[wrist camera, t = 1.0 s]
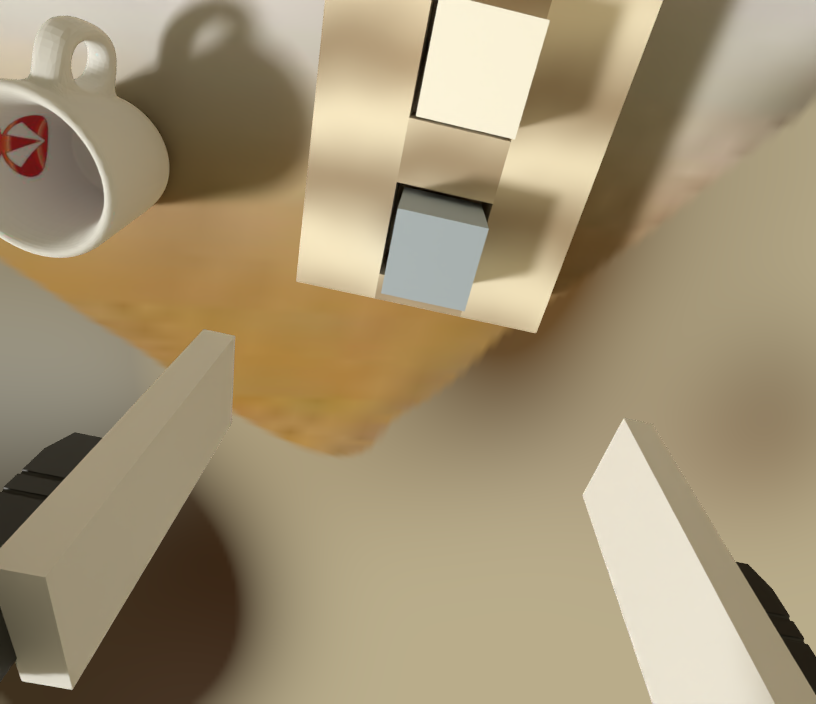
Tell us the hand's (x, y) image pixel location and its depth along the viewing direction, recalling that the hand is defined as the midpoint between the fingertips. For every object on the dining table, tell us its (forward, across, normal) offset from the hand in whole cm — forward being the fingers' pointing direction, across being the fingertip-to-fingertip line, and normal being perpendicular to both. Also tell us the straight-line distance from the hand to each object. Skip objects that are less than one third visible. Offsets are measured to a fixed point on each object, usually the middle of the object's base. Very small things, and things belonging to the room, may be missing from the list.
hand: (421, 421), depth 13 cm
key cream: (+17, 0, +8) cm, 19 cm away
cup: (+21, -19, +1) cm, 28 cm away
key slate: (+17, 0, 0) cm, 17 cm away
